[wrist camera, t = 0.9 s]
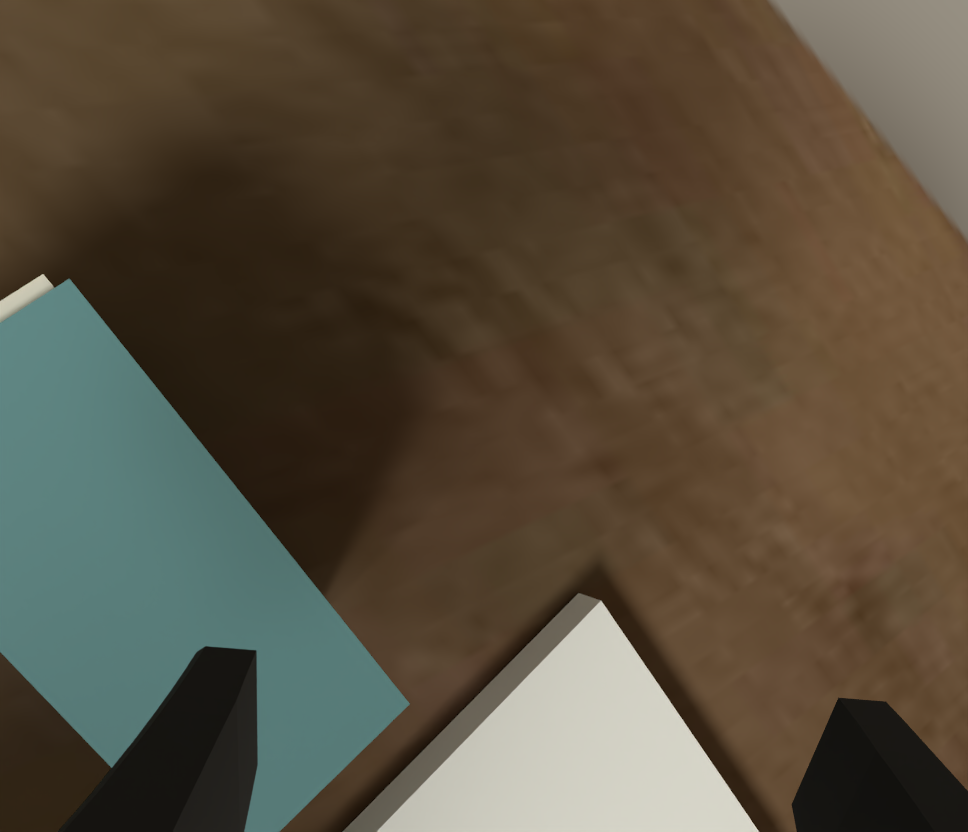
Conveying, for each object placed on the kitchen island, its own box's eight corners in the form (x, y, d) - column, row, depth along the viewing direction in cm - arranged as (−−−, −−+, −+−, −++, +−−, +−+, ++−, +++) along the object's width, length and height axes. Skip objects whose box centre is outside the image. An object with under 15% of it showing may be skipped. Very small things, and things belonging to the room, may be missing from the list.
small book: (165, 752, 23) (224, 885, 17) (-142, 422, 20) (-211, 433, 14) (307, 626, 24) (410, 703, 18) (42, 302, 21) (56, 262, 15)
